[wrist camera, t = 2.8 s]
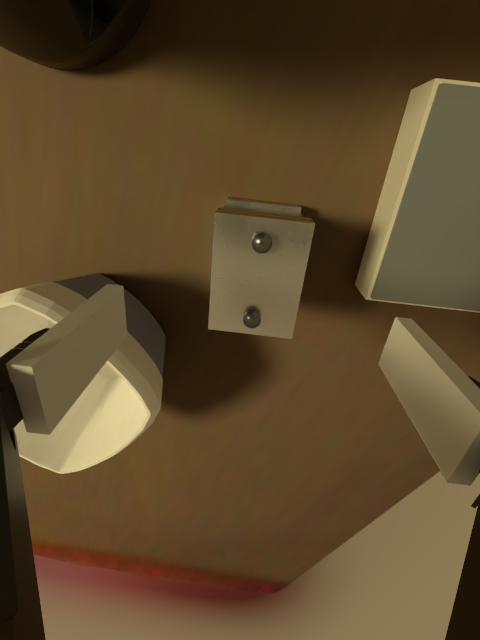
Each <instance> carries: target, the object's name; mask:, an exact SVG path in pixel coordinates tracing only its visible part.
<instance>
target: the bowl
mask: <svg viewBox="0 0 480 640" xmlns="http://www.w3.org/2000/svg"><path fill="white" fill-rule="evenodd" d="M107 284H113V285H118V284H117V283H115V282H114V281H112V280H111V279H109V278H107V277H105V276H103V275H101V274H90V275H85V276H80V277H75V278H70V279H65V280H60V281H56V282H48V283H43V284H38V285H33V286H28V287H23V288H18V289H15V290H11V291H8V292H5V293H2V294H0V357H1V356H3V355H4V354H5V353H7V352H8V351H9V350H11V349H14V347H15V346H16V345H18V344H19V343H22V341H23V340H24V339H26V338H27V337H28V336H30V335H31V334H33V333H35V332H37V331H40V330H42V329H45V328H50V329H51V328H52V327H53V326H55V325H56V324H57V323H58V322H60V321H61V320H62V319H63V318H65V317H66V316H67V315H69V314H70V313H71V312H72V311H74V310H75V309H76V308H77V307H79V306H80V305H81V304H83V303H84V302H85V301H86V300H88V299H89V298H90V297H92V296H93V295H94V294H95V293H97V292H98V291H99V290H100V289H102V288H103V287H104V286H106V285H107ZM124 300H125V312H126V325H127V336H126V337H125V339H124V340H123V341H122V343H121V344H120V345H119V346H118V348H117V349H116V350H115V352H114V353H113V354H112V355H111V357H110V358H109V359H108V361H107V362H106V363H105V364H104V366H103V367H102V368H101V370H100V371H99V372H98V373H97V375H96V376H95V377H94V379H93V380H92V381H91V382H90V384H89V385H88V386H87V387H86V389H85V390H84V391H83V393H82V394H81V395H80V396H79V398H78V399H77V400H76V402H75V403H74V404H73V405H72V407H71V408H70V409H69V411H68V412H67V413H66V414H65V416H64V417H63V418H62V420H61V421H60V422H59V423H58V425H57V426H56V427H55V429H54V430H53V431H52V432H51V434H50V435H46V434H37V433H29V432H26V429H25V425H24V422H23V419H22V420H21V421H20V422H19V423H18V424H17V426H16V427H15V428H14V430H15V433H16V437H17V444H18V451H19V456H20V457H22V458H24V459H26V460H28V461H30V462H32V463H34V464H36V465H38V466H40V467H43V468H46V469H49V470H51V471H54V472H57V473H60V474H64V473H70V472H75V471H80V470H83V469H85V468H88V467H90V466H93V465H95V464H98V463H100V462H102V461H104V460H106V459H108V458H110V457H112V456H113V455H115V454H117V453H119V452H120V451H122V450H123V449H124V448H126V447H127V446H128V445H129V444H131V443H132V442H133V441H135V440H136V439H137V438H138V437H139V436H140V435H141V434H142V433H143V432H144V431H145V430H146V429H147V428H148V427H149V426H150V425H151V424H152V423H153V421H154V420H155V418H156V416H157V414H158V412H159V411H160V408H161V400H162V386H163V367H164V354H165V341H166V338H165V334H164V332H163V330H162V328H161V327H160V326H159V324H158V323H157V321H156V320H155V319H154V317H153V316H152V314H151V313H150V312H149V311H148V310H147V309H146V308H145V306H144V305H143V304H142V303H141V302H140V301H139V300H138V299H136V298H135V297H134V296H133V295H132V294H131V293H129V292H128V291H127V290H125V289H124Z"/></svg>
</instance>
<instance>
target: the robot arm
mask: <svg viewBox="0 0 480 640" xmlns="http://www.w3.org/2000/svg"><path fill="white" fill-rule="evenodd" d="M149 3H150V0H0V46H2V47H3V48H5V49H7V50H9V51H11V52H13V53H15V54H17V55H19V56H22V57H24V58H26V59H28V60H31V61H33V62H35V63H38V64H41V65H44V66H47V67H51V68H56V69H64V70H76V69H83V68H88V67H91V66H94V65H97V64H99V63H101V62H103V61H105V60H107V59H108V58H110V57H112V56H113V55H114V54H116V53H117V52H118V51H119V50H120V49H121V48H122V47H123V46H124V45H125V44H126V43H127V42H128V41H129V40H130V38H131V37H132V36H133V34H134V33H135V31H136V30H137V28H138V27H139V25H140V23H141V21H142V19H143V17H144V15H145V13H146V10H147V8H148V5H149ZM126 336H127V325H126V312H125V300H124V288H123V286H121V285H113V284H107V285H106V286H104V287H103V288H102V289H100V290H99V291H98V292H97V293H95V294H94V295H93V296H92V297H90V298H89V299H88V300H86V301H85V302H84V303H83V304H81V305H80V306H79V307H77V308H76V309H75V310H74V311H72V312H71V313H70V314H69V315H67V316H66V317H65V318H63V319H62V320H61V321H60V322H58V323H57V324H56V325H55V326H53V327H52V328H51V329H50V328H45V329H42V330H40V331H37V332H35V333H33V334H31V335H30V336H28V337H27V338H26V339H24V340H23V341H22V343H19V344H18V345H16V346H15V347H14V349H11V350H9V351H8V352H7V353H5V354H4V355H3V356H1V357H0V640H45V633H44V626H43V619H42V612H41V605H40V598H39V592H38V584H37V577H36V571H35V564H34V556H33V549H32V542H31V535H30V528H29V521H28V514H27V507H26V500H25V493H24V486H23V479H22V472H21V465H20V458H19V451H18V444H17V437H16V433H15V430H14V428H15V427H16V426H17V424H18V423H19V422H20V421H21V420H22V419H23V422H24V425H25V429H26V432H29V433H37V434H46V435H50V434H51V432H52V431H53V430H54V429H55V427H56V426H57V425H58V423H59V422H60V421H61V420H62V418H63V417H64V416H65V414H66V413H67V412H68V411H69V409H70V408H71V407H72V405H73V404H74V403H75V402H76V400H77V399H78V398H79V396H80V395H81V394H82V393H83V391H84V390H85V389H86V387H87V386H88V385H89V384H90V382H91V381H92V380H93V379H94V377H95V376H96V375H97V373H98V372H99V371H100V370H101V368H102V367H103V366H104V364H105V363H106V362H107V361H108V359H109V358H110V357H111V355H112V354H113V353H114V352H115V350H116V349H117V348H118V346H119V345H120V344H121V343H122V341H123V340H124V339H125V337H126ZM378 365H379V367H380V368H381V370H382V372H383V373H384V375H385V377H386V379H387V380H388V382H389V384H390V385H391V387H392V389H393V391H394V392H395V394H396V396H397V397H398V399H399V401H400V403H401V404H402V406H403V408H404V409H405V411H406V413H407V415H408V416H409V418H410V420H411V421H412V423H413V425H414V427H415V428H416V430H417V432H418V433H419V435H420V437H421V439H422V440H423V442H424V444H425V445H426V447H427V449H428V451H429V452H430V454H431V456H432V457H433V459H434V461H435V463H436V464H437V466H438V468H439V469H440V471H441V473H442V475H443V476H444V478H445V480H446V481H447V483H456V484H464V485H471V484H472V483H473V481H474V480H475V478H476V477H477V475H478V474H479V473H480V383H479V382H478V381H476V380H475V379H473V378H472V377H470V376H467V375H466V374H465V373H464V372H463V371H462V370H461V369H460V368H459V367H458V366H457V365H456V364H455V363H454V362H453V361H452V360H451V359H450V358H449V357H448V356H447V355H446V354H445V353H444V352H443V351H442V349H441V348H440V347H439V346H438V345H437V344H436V343H435V342H434V341H433V340H432V339H431V338H430V337H429V336H428V335H427V334H426V333H425V332H424V331H423V330H422V329H421V328H420V327H419V326H418V325H417V324H416V323H415V322H414V321H413V320H412V319H409V318H401V317H395V320H394V323H393V325H392V328H391V331H390V333H389V336H388V339H387V342H386V344H385V347H384V350H383V352H382V355H381V358H380V361H379V363H378ZM471 506H472V507H473V508H476V507H477V506H478V509H477V513H476V517H475V521H474V525H473V529H472V533H471V537H470V541H469V545H468V549H467V553H466V557H465V561H464V565H463V569H462V573H461V578H460V582H459V586H458V590H457V594H456V598H455V602H454V606H453V610H452V614H451V618H450V622H449V626H448V630H447V634H446V638H445V640H480V494H479V496H478V497H477V499H476V500H475V501H474V503H473V504H472V505H471Z"/></svg>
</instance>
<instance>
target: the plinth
mask: <svg viewBox="0 0 480 640" xmlns="http://www.w3.org/2000/svg"><path fill="white" fill-rule="evenodd" d="M355 286H356V287H357V289H358V290H359V291H360V293H361V294H362V295H363V297H364V298H365V299H366V300H374V301H382V302H391V303H400V304H409V305H417V306H426V307H435V308H444V309H452V310H461V311H470V312H479V313H480V83H476V82H466V81H457V80H448V79H439V78H435V79H433V80H431V81H428V82H426V83H424V84H422V85H420V86H418V87H416V88H414V89H412V90H411V91H410V95H409V98H408V102H407V105H406V109H405V112H404V116H403V119H402V123H401V126H400V130H399V133H398V136H397V140H396V143H395V147H394V150H393V154H392V157H391V161H390V164H389V168H388V171H387V174H386V178H385V181H384V185H383V188H382V192H381V195H380V199H379V202H378V206H377V209H376V212H375V216H374V219H373V223H372V226H371V230H370V233H369V237H368V240H367V244H366V247H365V250H364V254H363V257H362V261H361V264H360V268H359V271H358V275H357V278H356V282H355Z"/></svg>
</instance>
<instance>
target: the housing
mask: <svg viewBox="0 0 480 640" xmlns="http://www.w3.org/2000/svg"><path fill="white" fill-rule="evenodd" d="M301 208H302V207H301V206H300V205H299V204H290V203H281V202H272V201H264V200H255V199H246V198H237V197H228V198H227V199H226V205H225V206H224V208H218V209H217V210H216V211H215V217H214V234H213V252H212V270H211V287H210V305H209V322H208V329H211V330H219V331H228V332H237V333H245V334H254V335H263V336H271V337H280V338H289V339H292V335H293V330H294V326H295V321H296V316H297V311H298V306H299V301H300V296H301V292H302V287H303V282H304V277H305V272H306V267H307V262H308V257H309V253H310V248H311V243H312V238H313V233H314V228H315V222H314V221H313V220H312V219H311V218H307V217H303V215H302V214H301Z"/></svg>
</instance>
